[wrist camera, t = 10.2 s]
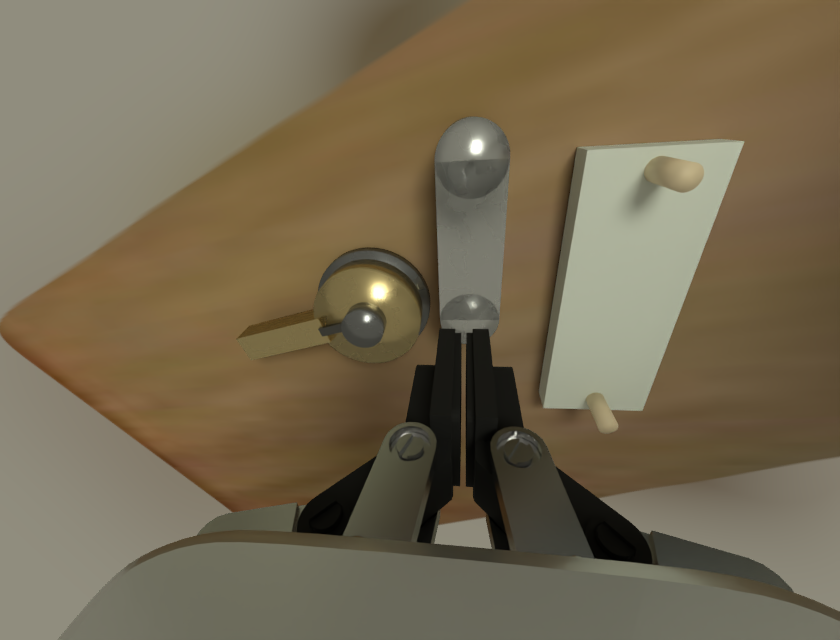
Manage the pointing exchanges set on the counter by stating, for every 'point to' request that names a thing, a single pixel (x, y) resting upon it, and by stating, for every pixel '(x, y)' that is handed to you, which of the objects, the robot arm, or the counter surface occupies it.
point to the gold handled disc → (348, 317)
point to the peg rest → (628, 268)
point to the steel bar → (471, 223)
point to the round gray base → (390, 259)
